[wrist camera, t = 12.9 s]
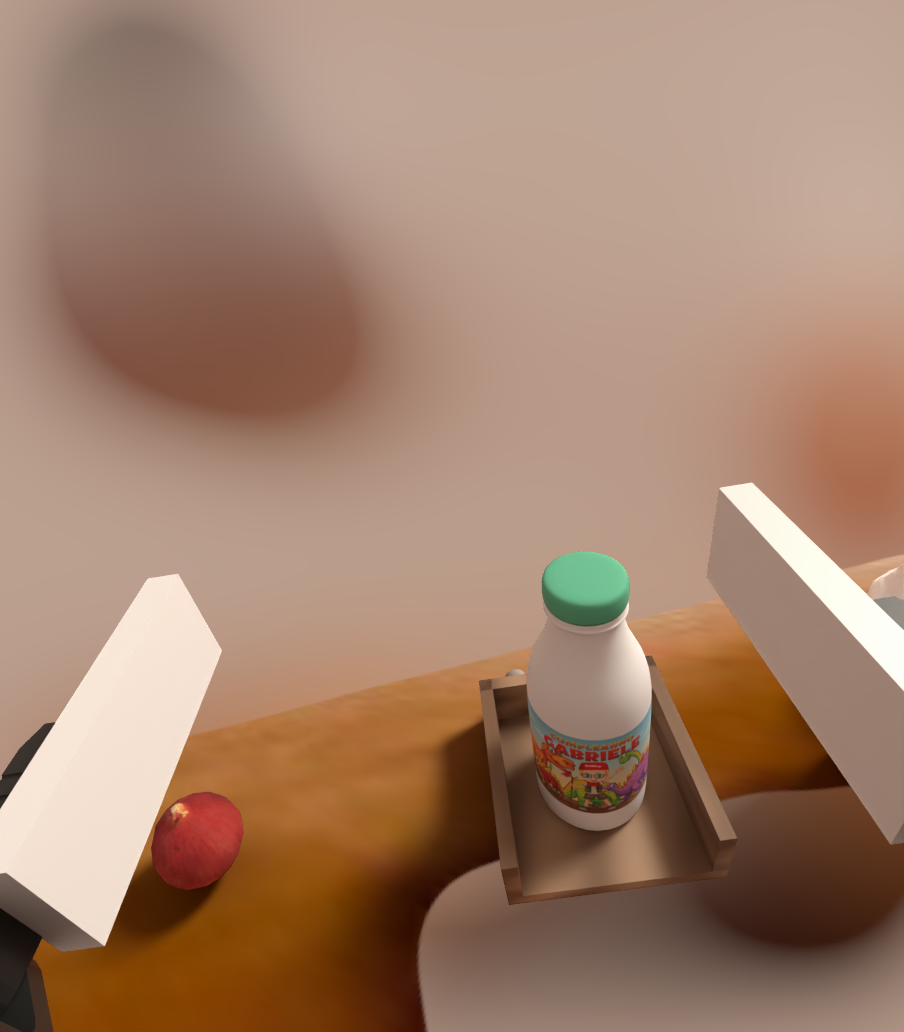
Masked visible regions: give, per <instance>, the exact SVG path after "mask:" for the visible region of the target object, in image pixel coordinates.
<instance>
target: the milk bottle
mask: <svg viewBox="0 0 904 1032" xmlns="http://www.w3.org/2000/svg"><path fill="white" fill-rule="evenodd" d="M629 588H630V587H629V578H628V575H627V572H626V570H625V569H624V567H623V566H622V565H621V564H620V563H619V562H618V561H616V560H615V559H613V558H611V557H609V556H606V555H603V554H600V553H595V552H574V553H570V554H566V555H563V556H561V557H559V558H557V559H555V560H554V561H552V562H551V563H550V564H549V565H548V566H547V567H546V569H545V571H544V574H543V577H542V594H543V600H544V602H543V605H544V610H545V613H546V615H547V616H548V618H547V622H546V624H545V627H544V628H543V630H542V632H541V633H540V635H539V637H538V639H537V640H536V642H535V644H534V646H533V649H532V651H531V654H530V658H529V662H528V668H527V699H528V709H529V718H530V727H531V736H532V744H533V752H534V760H535V768H536V776H537V781H538V786H539V789H540V792H541V794H542V797H543V798H544V800H545V802H546V803H547V805H548V806H549V807H550V809H551V810H552V811H553V812H554V813H555V814H556V815H557V816H559V817H560V818H561V819H563V820H564V821H566V822H567V823H569V824H571V825H573V826H575V827H578V828H582V829H585V830H594V831H601V830H609V829H612V828H615V827H618V826H620V825H622V824H624V823H625V822H627V821H628V820H629V819H631V818H632V817H633V816H634V815H635V813H636V812H637V811H638V809H639V808H640V806H641V804H642V801H643V798H644V794H645V787H646V778H647V766H648V753H649V740H650V724H651V694H652V686H651V678H650V671H649V667H648V664H647V660H646V658H645V655H644V653H643V651H642V649H641V647H640V645H639V643H638V642H637V640H636V639H635V637H634V636H633V634H632V633H631V631H630V629H629V628H628V626H627V623H626V621H625V617H626V616H627V613H628V609H629V603H628V601H629V591H630V589H629Z"/></svg>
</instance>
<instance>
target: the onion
mask: <svg viewBox="0 0 904 1032" xmlns="http://www.w3.org/2000/svg"><path fill="white" fill-rule="evenodd" d="M243 833H244V831H243V824H242V818H241V814H240V811H239V810H238V809H237V808H236V807H235V806H234V805H233V804H232V803H231V802H230V801H229V800H228V799H227V798H226V797H224V796H222V795H219V794H215V793H211V792H201V793H193V794H191V795H188V796H186V797H184V798H181V799H179V800H177V801H176V802H175V803H174V804H172V805H171V806H170V807H169V808H168V809H167V810H166V811H165V812H164V814H163V816H162V817H161V819H160V820H159V822H158V823H157V825H156V827H155V833H154V838H153V842H152V846H151V851H152V859H153V865H154V868H155V870H156V871H157V872H158V873H159V875H160V876H161V877H162V878H163V880H164V881H165V882H166V883H167V884H169V885H171V886H174V887H177V888H180V889H184V890H190V889H195V888H200V887H205V886H208V885H209V884H211V883H213V882H214V881H216V880H218V879H219V878H220V877H221V876H222V875H223V874H224V873H225V872H226V871H227V870H228V869H229V868H230V867H231V866H232V864H233V862H234V860H235V858H236V857H237V855H238V853H239V849H240V845H241V841H242V837H243Z"/></svg>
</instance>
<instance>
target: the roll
mask: <svg viewBox="0 0 904 1032" xmlns="http://www.w3.org/2000/svg"><path fill="white" fill-rule="evenodd" d="M867 595H868V596H869V597H870V598H871V599H872V600H873V599H879V598H886V597H893V596H895V597H897V598H899V599H901V600H903V601H904V561H903V563H902V564H901V566H900V567H898V568H895V569H893V570H890V571H888V572H887V573H886V574H884V575H882V576H880V577H879V578H877V579H876V580H875V581H874V582H873V583H872V585H871V587H870V589H869V591H868V593H867Z"/></svg>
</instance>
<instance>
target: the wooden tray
mask: <svg viewBox="0 0 904 1032" xmlns="http://www.w3.org/2000/svg"><path fill="white" fill-rule="evenodd" d="M645 658H646V660H647V664H648V667H649V671H650V678H651V686H652V694H651V724H650V740H649V753H648V766H647V778H646V787H645V794H644V798H643V801H642V804H641V806H640V808H639V809H638V811H637V812H636V813H635V815H634V816H633V817H632V818H631V819H629V820H628V821H627V822H625V823H624V824H622V825H620V826H618V827H615V828H612V829H609V830H601V831H594V830H585V829H582V828H578V827H575V826H573V825H571V824H569V823H567V822H566V821H564V820H563V819H561V818H560V817H559V816H557V815H556V814H555V813H554V812H553V811H552V810H551V809H550V807H549V806H548V805H547V803H546V802H545V800H544V798H543V797H542V794H541V792H540V789H539V786H538V781H537V776H536V768H535V760H534V752H533V744H532V736H531V727H530V718H529V709H528V699H527V674H524V672H523V671H521V670H518V669H515V670H511V671H509V672H508V673H507V674H506V677H502V678H495V679H488V680H481V681H479V685H480V694H481V702H482V711H483V719H484V728H485V736H486V745H487V753H488V762H489V771H490V779H491V788H492V796H493V805H494V813H495V822H496V830H497V839H498V847H499V856H500V865H501V871H502V876H503V880H504V884H505V889H506V893H507V897H508V901H509V905H512V904H519V903H526V902H534V901H543V900H550V899H557V898H566V897H573V896H581V895H588V894H597V893H604V892H612V891H620V890H628V889H636V888H643V887H651V886H659V885H666V884H674V883H682V882H690V881H698V880H706V879H714V878H721V877H727V874H728V870H729V867H730V863H731V860H732V856H733V852H734V849H735V845H736V842H737V837H736V834H735V832H734V830H733V828H732V826H731V824H730V822H729V820H728V817H727V815H726V813H725V811H724V809H723V807H722V804H721V802H720V800H719V798H718V796H717V794H716V792H715V790H714V787H713V785H712V783H711V781H710V779H709V777H708V775H707V772H706V770H705V768H704V766H703V764H702V762H701V760H700V758H699V755H698V753H697V751H696V749H695V747H694V745H693V743H692V741H691V738H690V736H689V734H688V732H687V730H686V728H685V726H684V723H683V721H682V719H681V717H680V715H679V713H678V711H677V709H676V706H675V704H674V702H673V700H672V698H671V696H670V694H669V692H668V689H667V687H666V685H665V683H664V681H663V679H662V677H661V674H660V672H659V670H658V668H657V666H656V664H655V662H654V660H653V657H652V656H645Z"/></svg>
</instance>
